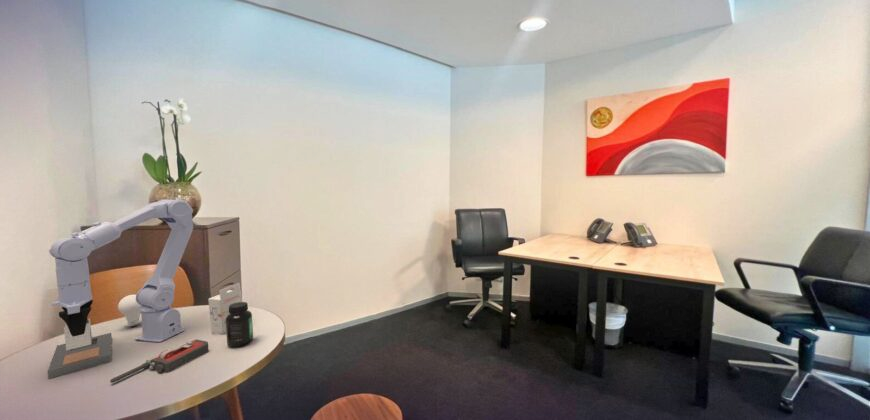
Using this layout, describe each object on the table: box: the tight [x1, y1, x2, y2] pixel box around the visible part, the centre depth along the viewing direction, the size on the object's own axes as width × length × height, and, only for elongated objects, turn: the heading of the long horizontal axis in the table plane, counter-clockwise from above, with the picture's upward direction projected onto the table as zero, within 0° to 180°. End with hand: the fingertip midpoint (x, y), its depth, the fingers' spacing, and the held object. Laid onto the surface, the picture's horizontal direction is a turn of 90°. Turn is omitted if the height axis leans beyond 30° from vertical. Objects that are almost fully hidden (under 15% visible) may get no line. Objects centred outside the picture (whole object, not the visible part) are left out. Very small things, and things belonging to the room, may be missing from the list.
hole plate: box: [47, 332, 113, 380], centre depth 89 cm, size 18×11×2 cm, turn 45°
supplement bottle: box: [225, 301, 254, 349], centre depth 96 cm, size 7×7×12 cm
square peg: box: [63, 317, 93, 351], centre depth 85 cm, size 4×4×6 cm
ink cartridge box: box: [207, 282, 243, 335], centre depth 106 cm, size 9×5×15 cm, turn 168°
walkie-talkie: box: [110, 339, 210, 384], centre depth 85 cm, size 9×4×20 cm
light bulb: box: [117, 294, 141, 328], centre depth 108 cm, size 7×7×11 cm
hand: (79, 331), depth 85 cm, fingers closed on square peg, 4 cm apart
